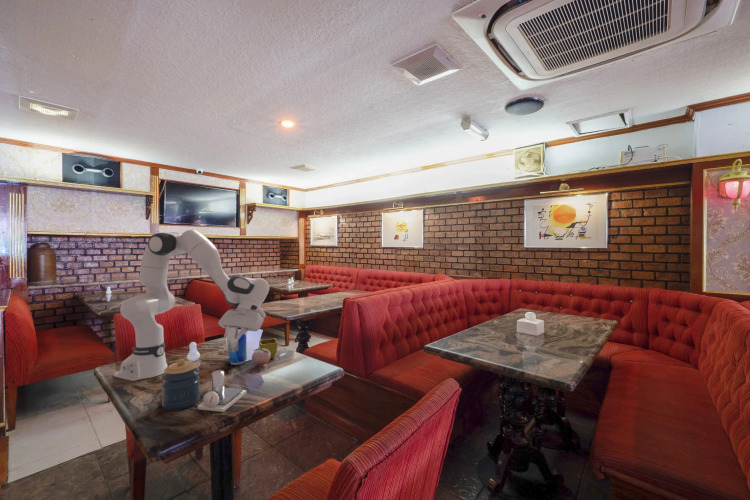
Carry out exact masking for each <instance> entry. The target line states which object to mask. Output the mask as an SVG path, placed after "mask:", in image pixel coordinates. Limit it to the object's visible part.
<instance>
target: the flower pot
mask: <svg viewBox="0 0 750 500" xmlns="http://www.w3.org/2000/svg"><path fill="white" fill-rule="evenodd" d="M258 344H259V348H260V349H261V347H262V348H265V349H268V350H269V351H270V353H271V357H270V359H273V358H275V356H276V354H277V352H278V341H277V339H276V338H268V339H262V340H261V339H260V340H258Z"/></svg>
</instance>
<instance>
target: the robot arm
mask: <svg viewBox="0 0 750 500" xmlns="http://www.w3.org/2000/svg"><path fill="white" fill-rule="evenodd" d="M181 255H182V256H185V255H188V256H189V257H190V258H191V259H192V260H193V261H194V262H195V263H196V264H197V265H198V266H199V267H200V268H201V269H202V270H203V271H204V272H205V273H206V274H207V276H208V277H209V278H210V279H211V280H212V282H214V283H215V285H216V286H217V287H218V288H219V289H220V291H221V292H222V293H223V296H224V299H225V302H226V304H228V305H229V306H230V307H236V308H231V309H228V310H227V311H226V312H225V313H224V314H223V315H222V316H221V318H220V319H219V320H218V325H219V327H221V329H225V332H224V334H223V338H226V339H227V327H230V326H237V327H238V331H240V332H239V333H236V335H235V338H236V339H240V337H241V336H242V335H243V334H244V333H245V334H246V333H247V331H249V332H258V331H259V330H260V328H261V327H262V325H263V323H264V319H265V318H266V316H267V314H266V313H265V311H264V310H263V309H262V308H261V305H262V303H264V302H265V299H266V298H267V296H268V294H269V291H270V284H269V283H268V281H267V280H265V279H264V278H262V277H255V278H250V277H245V276H244V275H234V276H231V277H229V276H228V275H227V273H226V272H225V270H224V269H223V266H222V262H221V255H220V252H219V250H218V248H217V247H216V246H215V245H214V243H213V242H212V241H210V239H209V238H207V237H206V236H205V235H204V234H202V232H199V230H197V229H194V228H193V229H188V230H185V231H183V232H157V233H154V234H152V235H151V236H150V237H149V238H148V241H147V246H146V247H145V248H144V252H143V255H142V257H141V263H140V269H139V278H138V280H139V281H138V282H139V283H140V284H141V285H142V286H145V290H146V292H145V294H140V295H135V296H132V297H130V298H128V299H125V300H123V302H121V305H120V307H119V311H120V312H119V313H120V314H121V316H122V317H123V318H124V319H126V320H128V321H129V322H130V323H131V324H132V326H133V329H134V332H135V333H134V334H135V346H133V347H131V348H130V350H131V351H132V353H131V354H130V355H129V356H128V357H127V358H125V359H124V360H123V361H121V364H120V368H119V369H120V370H118V371H116V372H115V373H114V374H113V377H115V378H118V379H123V380H127V381H131V382H135V381H139V380H143V379H150V378H154V377H157V376H160V375H161V376H162V375H163V374H164V373H165V372H164V370H165V369H166V368H167V367H168V366H169V365H168V363H167V359H166V352H165V349H166V344H165V339H164V326H163V325H162V324H160V323H157V320H156V318H155V316H156V315H160V314H161V315H162V314H164V313H166V312H168V311H170V310H172V309H173V308H174V307H175V304H176V298H175V296H174V294H173V293H171V292H170V290H169V288H168V272H169V266H170V265H169V263H170V259H171V257H175V256H181Z"/></svg>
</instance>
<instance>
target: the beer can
mask: <svg viewBox="0 0 750 500" xmlns="http://www.w3.org/2000/svg"><path fill="white" fill-rule="evenodd" d="M240 331H241V330H238V333H239V332H240ZM228 353H229V355H228V362H229V363H230V364H231V365H232V366H238V365H243V364H244V363H245V362H246V360H247V355H248V354H247V334H246V333H244V334H243V335H242V336H241V337H240V339H238V351H236V352H228Z"/></svg>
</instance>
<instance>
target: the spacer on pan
mask: <svg viewBox="0 0 750 500" xmlns="http://www.w3.org/2000/svg"><path fill="white" fill-rule="evenodd" d="M224 388H225V370H223V369H218V370H214V371H212V372H211V391H214V392H216V393H217V394H218V396H219V399H222V398H224Z"/></svg>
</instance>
